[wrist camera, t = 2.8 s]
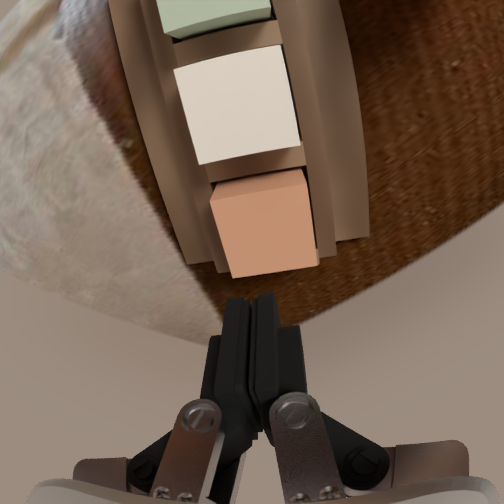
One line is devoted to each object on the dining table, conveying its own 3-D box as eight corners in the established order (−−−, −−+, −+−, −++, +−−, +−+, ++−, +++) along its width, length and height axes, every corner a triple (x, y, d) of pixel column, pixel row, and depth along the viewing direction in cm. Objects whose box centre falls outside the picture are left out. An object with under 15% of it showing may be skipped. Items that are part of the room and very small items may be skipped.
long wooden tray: (315, -59, 11) (324, -80, 8) (365, 229, 22) (379, 254, 19) (112, -9, 13) (87, -19, 10) (189, 257, 24) (179, 284, 21)
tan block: (300, 166, 17) (306, 183, 15) (311, 239, 20) (317, 265, 17) (217, 181, 18) (209, 201, 16) (236, 251, 21) (232, 278, 18)
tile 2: (277, 50, 14) (280, 44, 11) (294, 134, 16) (300, 145, 14) (188, 70, 14) (173, 69, 12) (209, 150, 17) (199, 164, 15)
